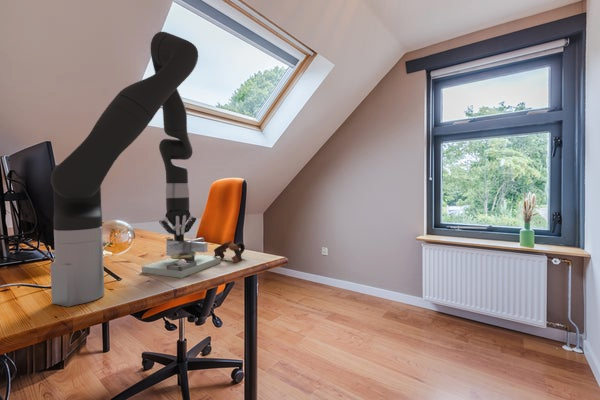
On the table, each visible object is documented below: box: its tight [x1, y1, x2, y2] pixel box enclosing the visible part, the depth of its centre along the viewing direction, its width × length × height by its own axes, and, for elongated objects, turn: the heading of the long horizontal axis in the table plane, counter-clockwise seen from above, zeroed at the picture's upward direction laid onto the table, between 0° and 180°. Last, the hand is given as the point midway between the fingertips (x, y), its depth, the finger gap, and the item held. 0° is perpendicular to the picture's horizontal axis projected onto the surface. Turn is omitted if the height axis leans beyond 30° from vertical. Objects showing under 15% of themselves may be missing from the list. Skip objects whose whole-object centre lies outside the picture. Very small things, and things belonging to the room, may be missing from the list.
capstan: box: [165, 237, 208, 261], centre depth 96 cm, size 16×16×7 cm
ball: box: [177, 259, 186, 266], centre depth 89 cm, size 3×3×3 cm
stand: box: [141, 254, 221, 279], centre depth 96 cm, size 19×16×3 cm
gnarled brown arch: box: [213, 240, 246, 264], centre depth 107 cm, size 12×10×8 cm
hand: (179, 245), depth 101 cm, fingers closed
